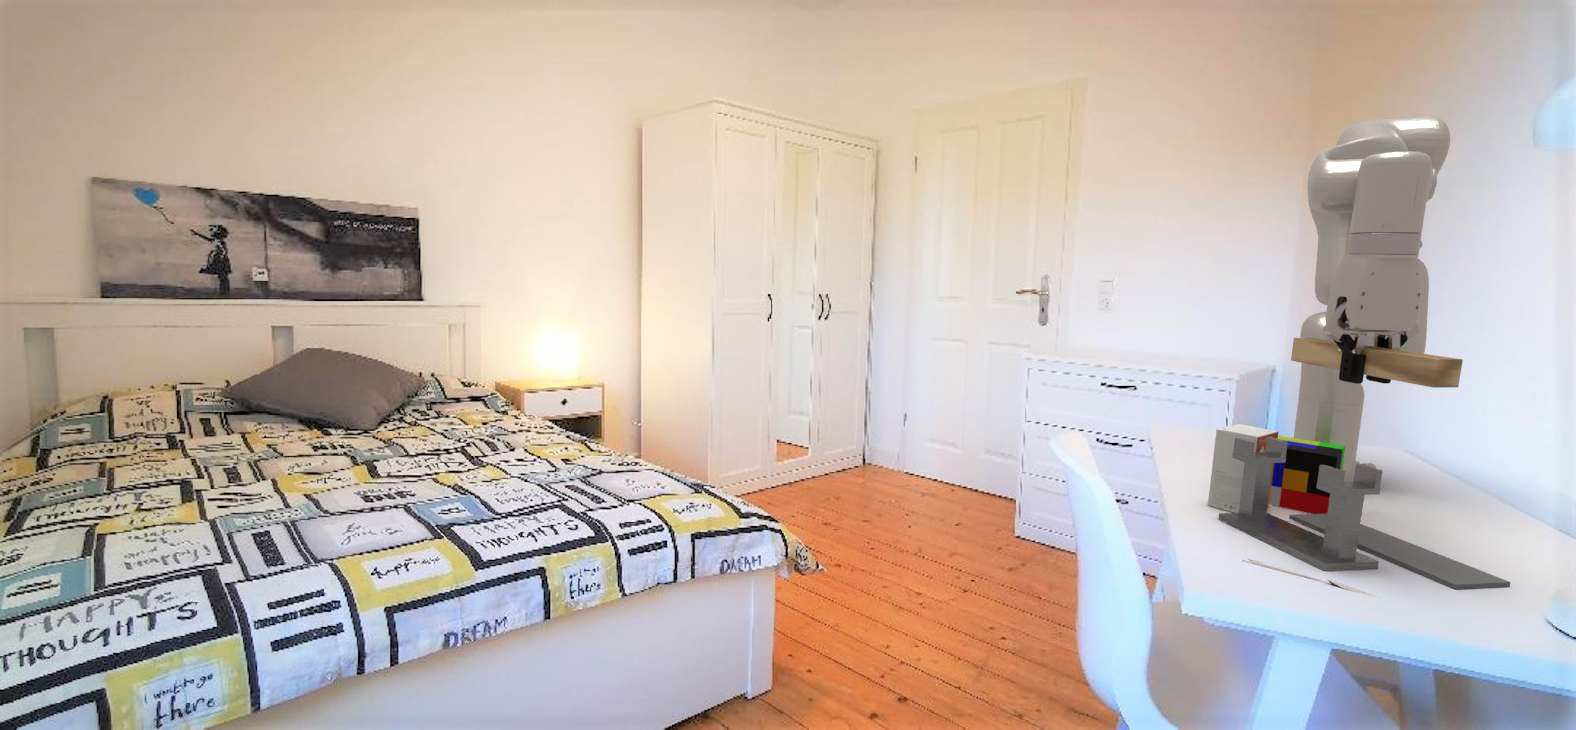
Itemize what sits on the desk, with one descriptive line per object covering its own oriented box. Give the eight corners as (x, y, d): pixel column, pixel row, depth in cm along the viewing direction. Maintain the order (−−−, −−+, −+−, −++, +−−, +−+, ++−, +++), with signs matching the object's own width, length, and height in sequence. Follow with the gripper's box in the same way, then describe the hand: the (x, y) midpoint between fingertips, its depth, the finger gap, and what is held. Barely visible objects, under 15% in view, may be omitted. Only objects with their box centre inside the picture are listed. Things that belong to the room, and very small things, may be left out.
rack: (1264, 518, 114) (1274, 436, 112) (1377, 568, 96) (1391, 471, 94) (1218, 519, 113) (1227, 436, 111) (1324, 571, 94) (1337, 472, 92)
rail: (1311, 360, 111) (1314, 337, 111) (1458, 387, 90) (1462, 359, 89) (1290, 360, 111) (1293, 337, 110) (1433, 387, 89) (1437, 359, 89)
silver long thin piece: (1426, 610, 82) (1236, 558, 96) (1424, 619, 83) (1236, 566, 96) (1430, 600, 85) (1245, 551, 99) (1429, 608, 85) (1245, 558, 99)
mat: (1333, 517, 115) (1334, 513, 115) (1509, 586, 91) (1510, 582, 91) (1289, 518, 114) (1289, 514, 114) (1455, 589, 90) (1455, 584, 90)
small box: (1248, 517, 114) (1258, 436, 113) (1206, 505, 119) (1215, 428, 118) (1270, 508, 119) (1279, 430, 117) (1228, 497, 124) (1237, 423, 122)
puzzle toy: (1255, 502, 122) (1262, 444, 121) (1267, 489, 129) (1274, 435, 128) (1328, 517, 115) (1337, 456, 114) (1337, 503, 123) (1345, 445, 121)
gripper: (1411, 248, 102) (1392, 377, 105) (1304, 246, 100) (1288, 377, 103) (1466, 248, 95) (1444, 386, 98) (1351, 246, 93) (1332, 387, 96)
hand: (1364, 380), depth 100 cm, fingers closed on rail, 3 cm apart
